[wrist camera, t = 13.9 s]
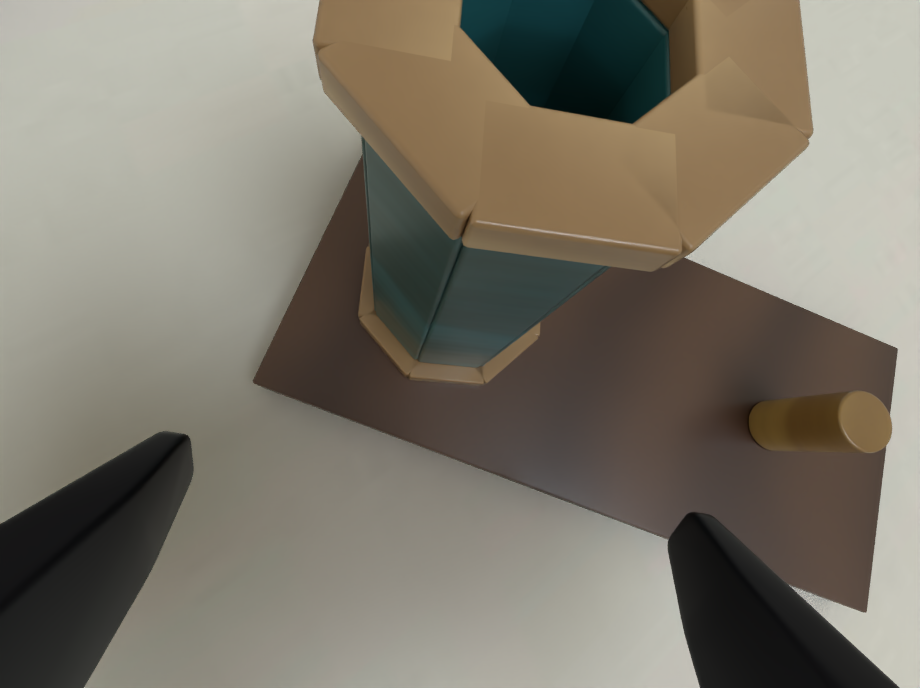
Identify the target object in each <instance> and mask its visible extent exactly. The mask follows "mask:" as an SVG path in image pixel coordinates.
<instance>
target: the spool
mask: <svg viewBox="0 0 920 688" xmlns="http://www.w3.org/2000/svg"><path fill="white" fill-rule="evenodd" d="M313 45H314V51H315V56H316V62H317V68H318V73H319V77H320V79H321V81H322V86H323V90H324V93H325V94H326V95H327V96H328V97H329V98H330V100H331V101H332V102H333V103H334V104H335V105H336V106H337V108H338V109H339V110H340V111H341V112H342V113H343V115H344V116H345V117H346V118H347V119H348V120H349V122H350V123H351V124H352V125H353V126H354V127H355V129H356V130H357V131H358V132H359V133H360V134H361V139H362V153H363V166H364V179H365V192H366V205H367V218H368V232H369V246H368V247H367V248H366V253H365V261H364V270H363V278H362V286H361V294H360V302H359V310H358V317H359V320H360V324H361V325H362V326H363V327H364V329H365V330H366V331H367V332H368V333H369V335H370V336H371V337H372V338H373V339H374V341H375V342H376V343H377V344H378V345H379V347H380V348H381V349H382V350H383V351H384V353H385V354H386V355H387V356H388V357H389V359H390V360H391V361H392V362H393V363H394V365H395V366H396V367H397V368H398V369H399V371H400V372H401V373H402V374H403V375H404V377H406V378H407V377H409V379H410V380H417V381H428V382H438V383H449V384H460V385H471V386H481V385H485V384H486V383H488V382H489V381H490V380H491V379H492V378H494V377H495V376H496V375H497V374H498V373H499V372H501V371H502V370H503V369H504V368H505V367H506V366H507V365H509V364H510V363H511V362H512V361H513V360H514V359H515V358H517V357H518V356H519V355H520V354H521V353H522V352H524V351H525V350H526V349H527V348H528V347H529V346H530V345H532V344H533V343H534V342H535V341H536V340H537V339H538V336H539V335H540V322H541V321H542V320H543V319H545V318H546V317H547V316H548V315H550V314H551V313H552V312H554V311H555V310H556V309H558V308H559V307H560V306H561V305H563V304H564V303H565V302H567V301H568V300H569V299H570V298H572V297H573V296H574V295H576V294H577V293H578V292H579V291H581V290H582V289H583V288H585V287H586V286H587V285H588V284H590V283H591V282H592V281H594V280H595V279H596V278H598V277H599V276H600V275H601V274H603V273H604V272H605V271H607V270H608V269H609V268H610V267H618V268H625V269H633V270H640V271H648V272H652V271H656V270H657V269H659V268H660V267H661V268H666V267H669V266H671V265H672V264H674V263H676V262H677V261H679V260H680V259H682V258H684V257H685V256H687V255H689V254H690V253H692V252H693V251H694V250H696V249H697V248H698V247H699V246H700V245H701V244H702V243H703V242H704V241H705V240H707V239H708V238H709V237H710V236H711V235H712V234H713V233H714V232H715V231H716V230H717V229H719V228H720V227H721V226H722V225H723V224H724V223H725V222H726V221H727V220H728V219H730V218H731V217H732V216H733V215H734V214H735V213H736V212H737V211H738V210H739V209H741V208H742V207H743V206H744V205H745V204H746V203H747V202H748V201H749V200H750V199H752V198H753V197H754V196H755V195H756V194H757V193H758V192H759V191H760V190H761V189H763V188H764V187H765V186H766V185H767V184H768V183H769V182H770V181H771V180H772V179H774V178H775V177H776V176H777V175H778V174H779V173H780V172H781V171H782V170H783V169H785V168H786V167H787V166H788V165H789V164H790V163H791V162H792V161H793V160H794V159H796V158H797V157H798V156H799V155H800V154H801V153H802V152H803V151H804V150H805V149H806V148H807V147H808V145H809V140H808V139H809V138H810V137H811V136H812V134H813V123H812V114H811V104H810V95H809V86H808V76H807V67H806V57H805V48H804V39H803V29H802V20H801V10H800V1H799V0H320V1H319V7H318V13H317V19H316V25H315V30H314V36H313Z"/></svg>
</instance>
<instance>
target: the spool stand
mask: <svg viewBox="0 0 920 688" xmlns="http://www.w3.org/2000/svg"><path fill="white" fill-rule="evenodd" d="M368 246H369V232H368V218H367V205H366V192H365V179H364V166H363V154H362V156H361V158H360V160H359V162H358V165H357V167H356V169H355V171H354V173H353V175H352V177H351V179H350V181H349V183H348V185H347V187H346V189H345V191H344V193H343V195H342V198H341V200H340V202H339V204H338V206H337V208H336V210H335V212H334V214H333V216H332V218H331V220H330V222H329V224H328V226H327V229H326V231H325V233H324V235H323V237H322V239H321V241H320V243H319V245H318V247H317V249H316V251H315V253H314V255H313V257H312V259H311V262H310V264H309V266H308V268H307V270H306V272H305V274H304V276H303V278H302V280H301V282H300V284H299V286H298V288H297V290H296V293H295V295H294V297H293V299H292V301H291V303H290V305H289V307H288V309H287V311H286V313H285V315H284V317H283V319H282V321H281V324H280V326H279V328H278V330H277V332H276V334H275V336H274V338H273V340H272V342H271V344H270V346H269V348H268V350H267V352H266V354H265V357H264V359H263V361H262V363H261V365H260V367H259V369H258V371H257V373H256V375H255V377H254V379H253V383H254V384H257V385H259V386H261V387H263V388H266V389H269V390H271V391H274V392H277V393H279V394H282V395H285V396H287V397H290V398H293V399H295V400H298V401H301V402H303V403H306V404H309V405H311V406H314V407H317V408H319V409H322V410H324V411H327V412H330V413H332V414H335V415H338V416H340V417H343V418H346V419H348V420H351V421H354V422H356V423H359V424H362V425H364V426H367V427H370V428H372V429H375V430H378V431H380V432H383V433H386V434H388V435H391V436H394V437H396V438H399V439H402V440H404V441H407V442H410V443H412V444H415V445H418V446H420V447H423V448H426V449H428V450H431V451H434V452H436V453H439V454H442V455H444V456H447V457H450V458H452V459H455V460H458V461H460V462H463V463H466V464H468V465H471V466H474V467H476V468H479V469H482V470H484V471H487V472H490V473H492V474H495V475H498V476H500V477H503V478H506V479H508V480H511V481H514V482H516V483H519V484H522V485H524V486H527V487H530V488H532V489H535V490H538V491H540V492H543V493H546V494H548V495H551V496H554V497H556V498H559V499H561V500H564V501H567V502H569V503H572V504H575V505H577V506H580V507H583V508H585V509H588V510H591V511H593V512H596V513H599V514H601V515H604V516H607V517H609V518H612V519H615V520H617V521H620V522H623V523H625V524H628V525H631V526H633V527H636V528H639V529H641V530H644V531H647V532H649V533H652V534H655V535H657V536H660V537H663V538H665V539H668V540H669V538H670V536H671V534H672V533H673V532H674V530H675V529H676V528H677V526H678V525H679V523H680V522H681V521H682V519H683V518H684V517H685V515H686V514H688V513H690V512H698V513H704V514H709V515H712V516H714V517H715V518H716V519H717V520H718V521H720V522H721V523H722V524H723V525H724V526H725V527H726V528H727V529H728V530H729V531H730V532H731V533H733V534H734V535H735V536H736V537H737V538H738V539H739V540H740V541H741V542H742V543H743V544H744V545H746V546H747V547H748V548H749V549H750V550H751V551H752V552H753V553H754V554H755V555H756V556H757V557H759V558H760V559H761V560H762V561H763V562H764V563H765V564H766V565H767V566H768V567H769V568H770V569H772V570H773V571H774V572H775V573H776V574H777V575H778V576H779V577H780V578H781V579H782V580H783V581H785V582H786V583H787V584H788V585H791V586H793V587H796V588H798V589H801V590H804V591H806V592H809V593H812V594H814V595H817V596H820V597H822V598H825V599H828V600H830V601H833V602H836V603H839V604H841V605H844V606H847V607H850V608H853V609H856V610H858V611H861V612H867V604H868V596H869V587H870V579H871V571H872V562H873V554H874V545H875V537H876V528H877V520H878V512H879V503H880V495H881V486H882V478H883V469H884V461H885V452H886V445H887V444H888V442H889V440H890V438H891V434H892V422H891V418H890V410H891V402H892V393H893V385H894V377H895V368H896V360H897V351H898V349H897V348H895V347H893V346H890V345H888V344H886V343H883V342H881V341H879V340H876V339H874V338H872V337H869V336H867V335H865V334H862V333H860V332H858V331H855V330H853V329H850V328H848V327H846V326H843V325H841V324H839V323H836V322H834V321H832V320H829V319H827V318H825V317H822V316H820V315H818V314H815V313H813V312H811V311H808V310H806V309H804V308H801V307H799V306H796V305H794V304H792V303H789V302H787V301H785V300H782V299H780V298H778V297H775V296H773V295H771V294H768V293H766V292H764V291H761V290H759V289H757V288H754V287H752V286H749V285H747V284H745V283H742V282H740V281H738V280H735V279H733V278H731V277H728V276H726V275H724V274H721V273H719V272H717V271H714V270H712V269H710V268H707V267H705V266H703V265H700V264H698V263H695V262H693V261H691V260H688V259H686V258H682V259H680V260H679V261H677V262H676V263H674V264H672V265H671V266H669V267H666V268H661V267H660V268H659V269H657V270H656V271H652V272H648V271H640V270H633V269H625V268H618V267H610V268H609V269H608V270H607V271H605V272H604V273H603V274H601V275H600V276H599V277H598V278H596V279H595V280H594V281H592V282H591V283H590V284H588V285H587V286H586V287H585V288H583V289H582V290H581V291H579V292H578V293H577V294H576V295H574V296H573V297H572V298H570V299H569V300H568V301H567V302H565V303H564V304H563V305H561V306H560V307H559V308H558V309H556V310H555V311H554V312H552V313H551V314H550V315H548V316H547V317H546V318H545V319H543V320H542V321H541V322H540V335H539V336H538V339H537V340H536V341H535V342H534V343H533V344H532V345H530V346H529V347H528V348H527V349H526V350H525V351H524V352H522V353H521V354H520V355H519V356H518V357H517V358H515V359H514V360H513V361H512V362H511V363H510V364H509V365H507V366H506V367H505V368H504V369H503V370H502V371H501V372H499V373H498V374H497V375H496V376H495V377H494V378H492V379H491V380H490V381H489V382H488V383H486V384H485V385H481V386H471V385H460V384H449V383H438V382H428V381H417V380H410V379H409V377H407V378H406V377H404V375H403V374H402V373H401V372H400V371H399V369H398V368H397V367H396V366H395V365H394V363H393V362H392V361H391V360H390V359H389V357H388V356H387V355H386V354H385V353H384V351H383V350H382V349H381V348H380V347H379V345H378V344H377V343H376V342H375V341H374V339H373V338H372V337H371V336H370V335H369V333H368V332H367V331H366V330H365V329H364V327H363V326H362V325H361V324H360V320H359V317H358V310H359V302H360V294H361V286H362V278H363V270H364V261H365V253H366V248H367V247H368Z"/></svg>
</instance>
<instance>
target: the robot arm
mask: <svg viewBox="0 0 920 688" xmlns="http://www.w3.org/2000/svg"><path fill="white" fill-rule="evenodd" d="M193 471H194V466H193V457H192V448H191V441H190V438H189V436H188V435H186V434H181V433H175V432H168V431H163V432H159V433H157V434H155V435H153V436H152V437H150V438H148V439H146V440H145V441H143V442H141V443H139V444H138V445H136V446H134V447H133V448H131V449H129V450H127V451H126V452H124V453H122V454H120V455H119V456H117V457H115V458H114V459H112V460H110V461H108V462H107V463H105V464H103V465H102V466H100V467H98V468H96V469H95V470H93V471H91V472H89V473H88V474H86V475H84V476H83V477H81V478H79V479H77V480H76V481H74V482H72V483H70V484H69V485H67V486H65V487H64V488H62V489H60V490H58V491H57V492H55V493H53V494H51V495H50V496H48V497H46V498H45V499H43V500H41V501H39V502H38V503H36V504H34V505H32V506H31V507H29V508H27V509H26V510H24V511H22V512H20V513H19V514H17V515H15V516H13V517H12V518H10V519H8V520H7V521H5V522H3V523H1V524H0V688H84V687H85V685H86V683H87V681H88V680H89V678H90V676H91V674H92V673H93V671H94V669H95V668H96V666H97V664H98V662H99V661H100V659H101V657H102V655H103V654H104V652H105V650H106V649H107V647H108V645H109V643H110V642H111V640H112V638H113V636H114V635H115V633H116V631H117V630H118V628H119V626H120V624H121V623H122V621H123V619H124V617H125V616H126V614H127V612H128V611H129V609H130V607H131V605H132V604H133V602H134V600H135V598H136V597H137V595H138V593H139V592H140V590H141V588H142V586H143V584H144V583H145V581H146V579H147V577H148V575H149V573H150V572H151V570H152V568H153V565H154V563H155V561H156V559H157V557H158V555H159V553H160V550H161V548H162V546H163V544H164V541H165V539H166V537H167V535H168V532H169V530H170V528H171V526H172V523H173V521H174V519H175V517H176V514H177V512H178V510H179V508H180V505H181V503H182V501H183V499H184V496H185V494H186V492H187V490H188V488H189V485H190V483H191V480H192V477H193ZM668 553H669V558H670V564H671V569H672V574H673V579H674V584H675V589H676V594H677V599H678V604H679V609H680V615H681V620H682V624H683V629H684V633H685V637H686V641H687V644H688V648H689V651H690V655H691V658H692V662H693V665H694V668H695V672H696V675H697V679H698V682H699V685H700V688H899V687H898V686H897V685H896V684H895V683H894V682H893V681H892V680H891V679H890V678H889V677H888V676H886V675H885V674H884V673H883V672H882V671H881V670H880V669H879V668H878V667H877V666H876V665H875V664H873V663H872V662H871V661H870V660H869V659H868V658H867V657H866V656H865V655H864V654H863V653H862V652H860V651H859V650H858V649H857V648H856V647H855V646H854V645H853V644H852V643H851V642H850V641H849V640H847V639H846V638H845V637H844V636H843V635H842V634H841V633H840V632H839V631H838V630H837V629H836V628H834V627H833V626H832V625H831V624H830V623H829V622H828V621H827V620H826V619H825V618H824V617H823V616H821V615H820V614H819V613H818V612H817V611H816V610H815V609H814V608H813V607H812V606H811V605H810V604H808V603H807V602H806V601H805V600H804V599H803V598H802V597H801V596H800V595H799V594H798V593H797V592H795V591H794V590H793V589H792V588H791V587H790V586H789V585H788V584H787V583H786V582H785V581H783V580H782V579H781V578H780V577H779V576H778V575H777V574H776V573H775V572H774V571H773V570H772V569H770V568H769V567H768V566H767V565H766V564H765V563H764V562H763V561H762V560H761V559H760V558H759V557H757V556H756V555H755V554H754V553H753V552H752V551H751V550H750V549H749V548H748V547H747V546H746V545H744V544H743V543H742V542H741V541H740V540H739V539H738V538H737V537H736V536H735V535H734V534H733V533H731V532H730V531H729V530H728V529H727V528H726V527H725V526H724V525H723V524H722V523H721V522H720V521H718V520H717V519H716V518H715V517H714V516H712V515H709V514H704V513H698V512H690V513H688V514H686V515H685V517H684V518H683V519H682V521H681V522H680V523H679V525H678V526H677V528H676V529H675V530H674V532H673V533H672V534H671V536H670V538H669V541H668Z"/></svg>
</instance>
